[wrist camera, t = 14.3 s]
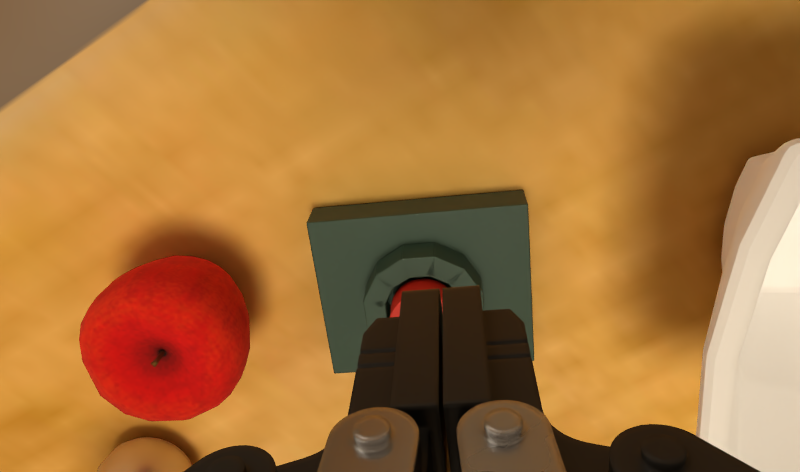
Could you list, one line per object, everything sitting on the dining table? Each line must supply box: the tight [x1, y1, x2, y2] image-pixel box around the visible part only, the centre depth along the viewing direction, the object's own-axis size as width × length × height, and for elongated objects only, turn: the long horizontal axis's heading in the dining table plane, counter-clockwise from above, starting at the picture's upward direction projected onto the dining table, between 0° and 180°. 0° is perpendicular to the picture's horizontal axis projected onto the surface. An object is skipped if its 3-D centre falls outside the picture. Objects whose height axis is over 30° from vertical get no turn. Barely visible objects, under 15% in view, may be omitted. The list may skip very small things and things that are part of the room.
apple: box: [79, 256, 250, 421], centre depth 39 cm, size 9×9×8 cm
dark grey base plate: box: [307, 190, 534, 373], centre depth 39 cm, size 12×10×4 cm
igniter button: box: [390, 279, 447, 317], centre depth 37 cm, size 4×4×2 cm
